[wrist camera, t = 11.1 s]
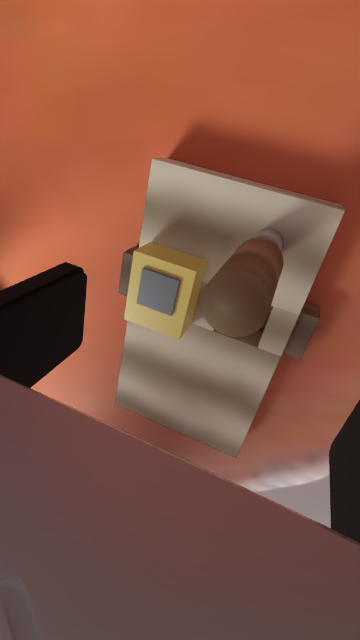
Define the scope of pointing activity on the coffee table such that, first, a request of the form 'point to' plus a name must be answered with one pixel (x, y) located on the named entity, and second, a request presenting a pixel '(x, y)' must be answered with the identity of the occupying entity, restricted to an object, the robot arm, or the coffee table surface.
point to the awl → (245, 286)
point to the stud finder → (164, 289)
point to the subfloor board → (200, 338)
